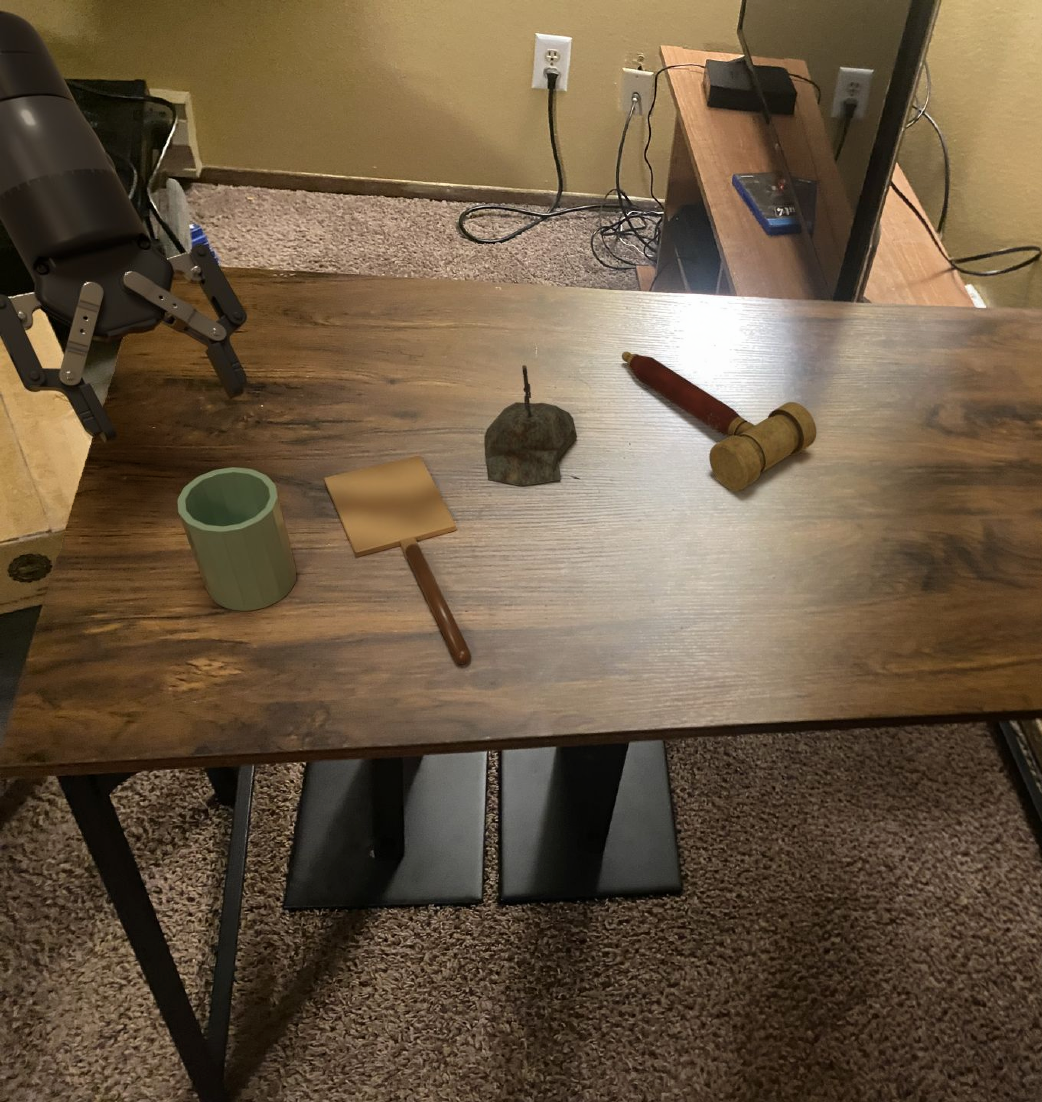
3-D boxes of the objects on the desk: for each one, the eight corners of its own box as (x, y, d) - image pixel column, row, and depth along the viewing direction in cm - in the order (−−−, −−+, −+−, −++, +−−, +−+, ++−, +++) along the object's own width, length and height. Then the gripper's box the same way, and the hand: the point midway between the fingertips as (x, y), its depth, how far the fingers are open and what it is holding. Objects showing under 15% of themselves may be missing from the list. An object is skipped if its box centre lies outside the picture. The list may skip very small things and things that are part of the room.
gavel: (585, 352, 94) (660, 317, 100) (585, 392, 97) (658, 356, 103) (749, 460, 85) (821, 415, 91) (742, 500, 88) (813, 454, 94)
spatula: (324, 482, 82) (322, 472, 81) (420, 459, 85) (419, 449, 84) (410, 685, 70) (409, 675, 69) (518, 649, 74) (518, 639, 73)
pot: (193, 606, 72) (162, 525, 66) (223, 544, 76) (197, 462, 70) (282, 615, 72) (260, 535, 66) (307, 552, 77) (288, 472, 70)
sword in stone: (497, 405, 92) (495, 294, 83) (582, 420, 92) (589, 310, 84) (469, 478, 85) (464, 365, 76) (561, 493, 85) (566, 382, 77)
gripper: (160, 183, 72) (265, 392, 76) (-67, 231, 64) (61, 462, 68) (174, 144, 66) (287, 373, 70) (-75, 192, 58) (66, 447, 62)
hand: (176, 417), depth 69 cm, fingers open, 8 cm apart
